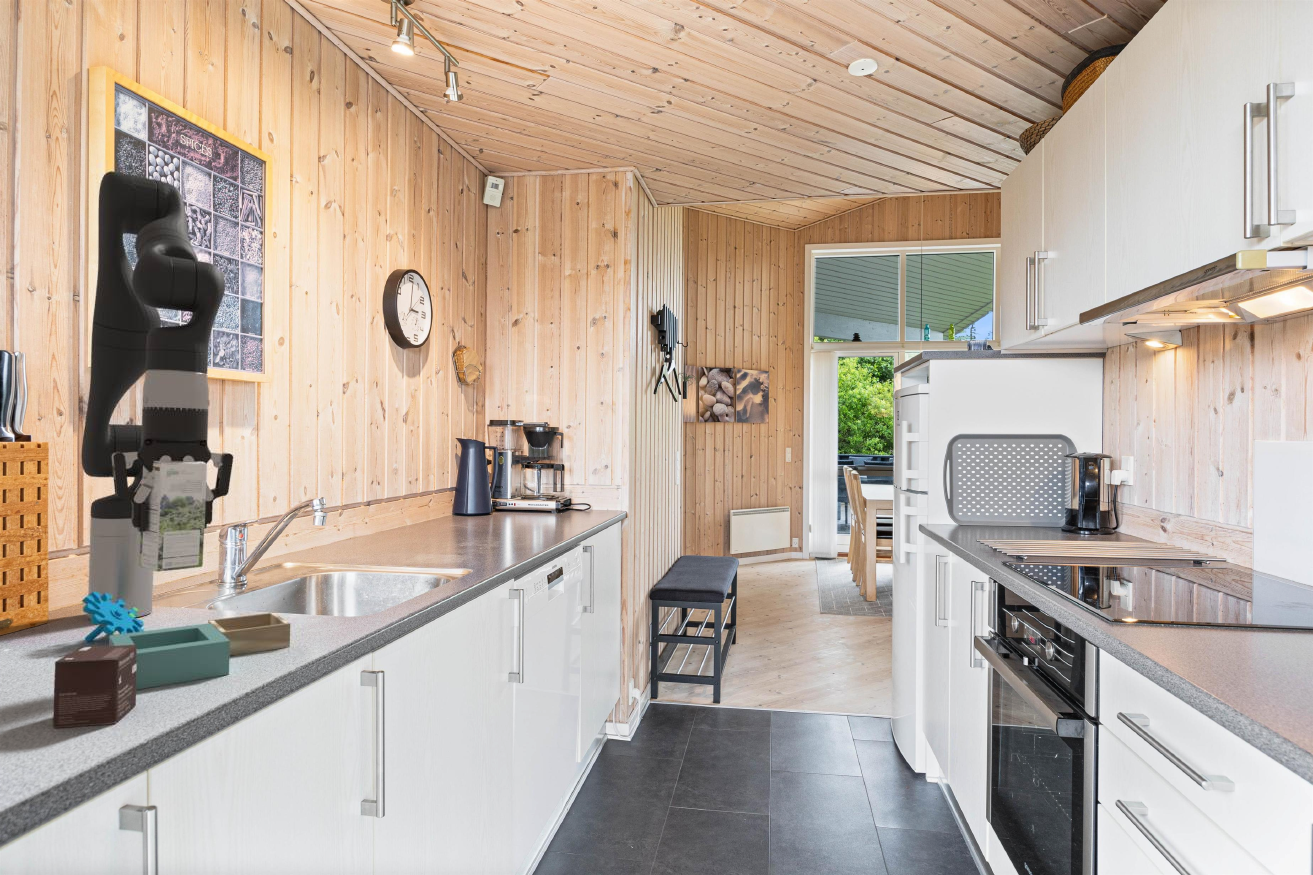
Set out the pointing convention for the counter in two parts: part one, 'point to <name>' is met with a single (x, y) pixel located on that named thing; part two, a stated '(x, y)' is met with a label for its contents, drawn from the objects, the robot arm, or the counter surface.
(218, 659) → the teal square frame
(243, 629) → the stand collar
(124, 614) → the gear
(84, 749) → the counter surface
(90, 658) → the box
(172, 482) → the syrup box
